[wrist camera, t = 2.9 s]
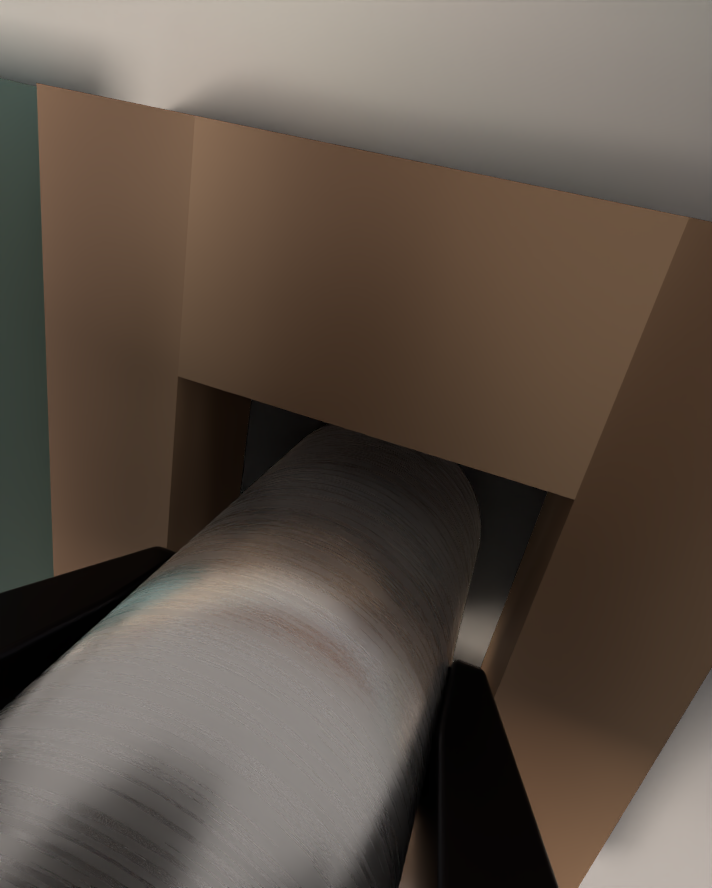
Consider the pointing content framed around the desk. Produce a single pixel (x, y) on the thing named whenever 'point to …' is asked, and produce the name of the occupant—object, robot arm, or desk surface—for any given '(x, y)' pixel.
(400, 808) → the steel peg
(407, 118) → the desk surface
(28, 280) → the block
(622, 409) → the socket block
